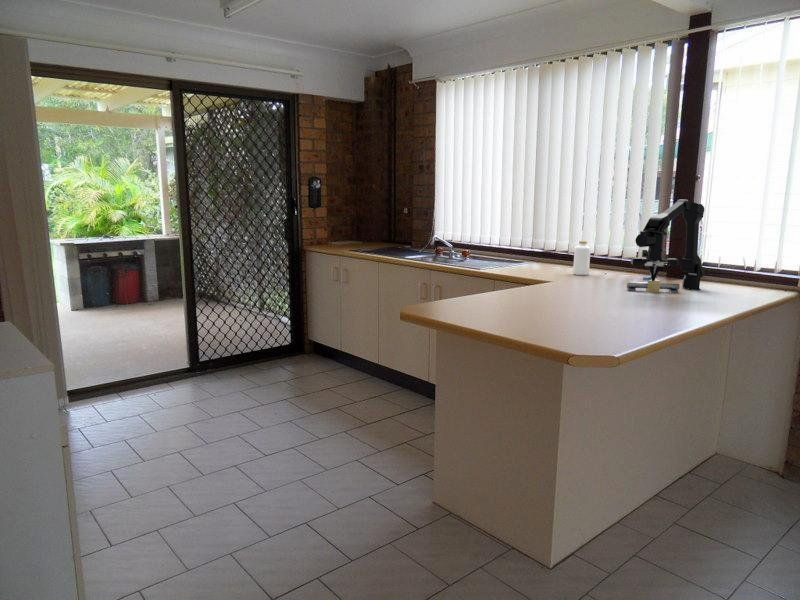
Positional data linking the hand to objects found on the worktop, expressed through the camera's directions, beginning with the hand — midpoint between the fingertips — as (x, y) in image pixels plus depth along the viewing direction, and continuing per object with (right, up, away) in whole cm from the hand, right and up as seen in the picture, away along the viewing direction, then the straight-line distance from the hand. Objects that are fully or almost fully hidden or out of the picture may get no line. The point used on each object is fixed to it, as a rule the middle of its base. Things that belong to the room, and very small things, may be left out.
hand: (652, 280), depth 251 cm
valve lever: (+1, +1, +4) cm, 4 cm away
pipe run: (+4, -4, +9) cm, 11 cm away
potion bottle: (-14, +5, +58) cm, 59 cm away
